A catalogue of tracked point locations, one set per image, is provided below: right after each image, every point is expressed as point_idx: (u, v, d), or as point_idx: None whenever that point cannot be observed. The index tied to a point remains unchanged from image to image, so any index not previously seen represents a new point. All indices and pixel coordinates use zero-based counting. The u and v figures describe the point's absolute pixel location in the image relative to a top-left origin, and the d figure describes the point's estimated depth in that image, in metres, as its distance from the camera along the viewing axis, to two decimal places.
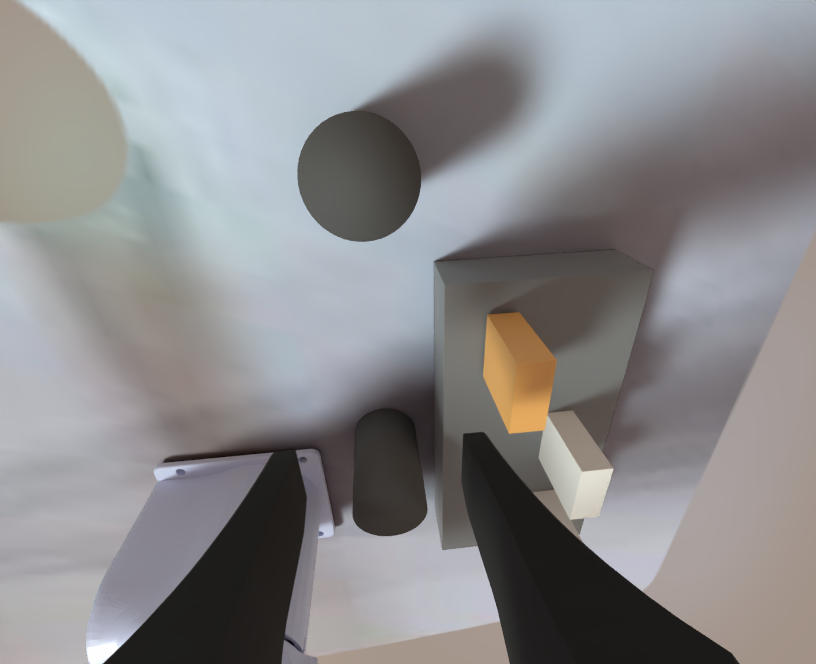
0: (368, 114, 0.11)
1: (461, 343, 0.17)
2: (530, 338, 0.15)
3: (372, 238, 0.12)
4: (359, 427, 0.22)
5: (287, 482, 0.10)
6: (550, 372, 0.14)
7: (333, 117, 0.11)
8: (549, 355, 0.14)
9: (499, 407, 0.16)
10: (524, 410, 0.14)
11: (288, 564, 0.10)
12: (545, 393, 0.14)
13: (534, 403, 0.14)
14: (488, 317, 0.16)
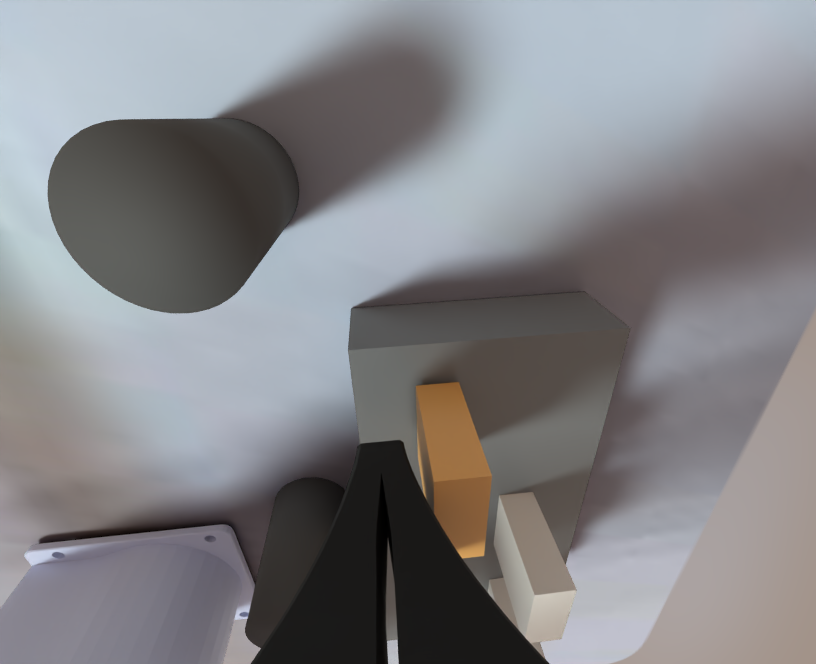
0: (146, 125, 0.07)
1: (379, 419, 0.13)
2: (463, 431, 0.11)
3: (197, 308, 0.08)
4: (276, 503, 0.18)
5: (382, 472, 0.10)
6: (484, 490, 0.10)
7: (89, 129, 0.07)
8: (483, 465, 0.10)
9: None
10: (452, 535, 0.10)
11: (384, 553, 0.10)
12: (479, 515, 0.10)
13: (465, 526, 0.10)
14: (416, 390, 0.12)
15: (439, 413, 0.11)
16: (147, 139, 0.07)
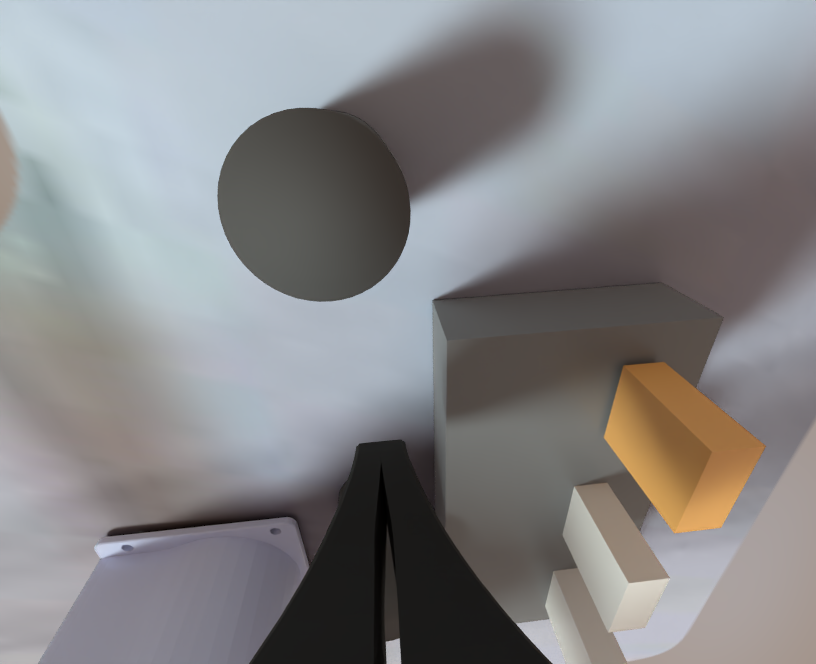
0: (324, 113, 0.07)
1: (468, 410, 0.13)
2: (704, 406, 0.11)
3: (340, 296, 0.08)
4: None
5: (381, 473, 0.10)
6: (751, 460, 0.10)
7: (268, 118, 0.07)
8: (749, 436, 0.10)
9: (648, 490, 0.12)
10: (703, 506, 0.11)
11: (383, 553, 0.10)
12: (736, 485, 0.10)
13: (718, 497, 0.11)
14: (627, 369, 0.13)
15: (668, 390, 0.12)
16: (322, 127, 0.07)
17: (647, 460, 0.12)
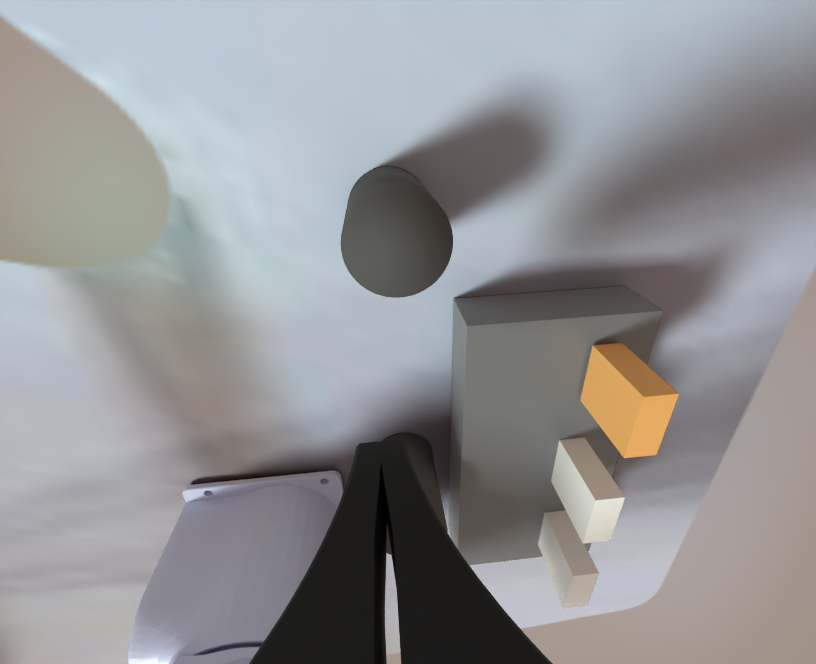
0: (407, 189, 0.12)
1: (480, 378, 0.19)
2: (644, 370, 0.16)
3: (406, 294, 0.13)
4: None
5: (381, 473, 0.10)
6: (671, 404, 0.15)
7: (375, 192, 0.12)
8: (670, 388, 0.15)
9: (608, 432, 0.17)
10: (641, 437, 0.16)
11: (383, 553, 0.10)
12: (663, 422, 0.15)
13: (651, 431, 0.16)
14: (594, 348, 0.18)
15: (621, 361, 0.17)
16: (405, 197, 0.12)
17: (607, 411, 0.17)
